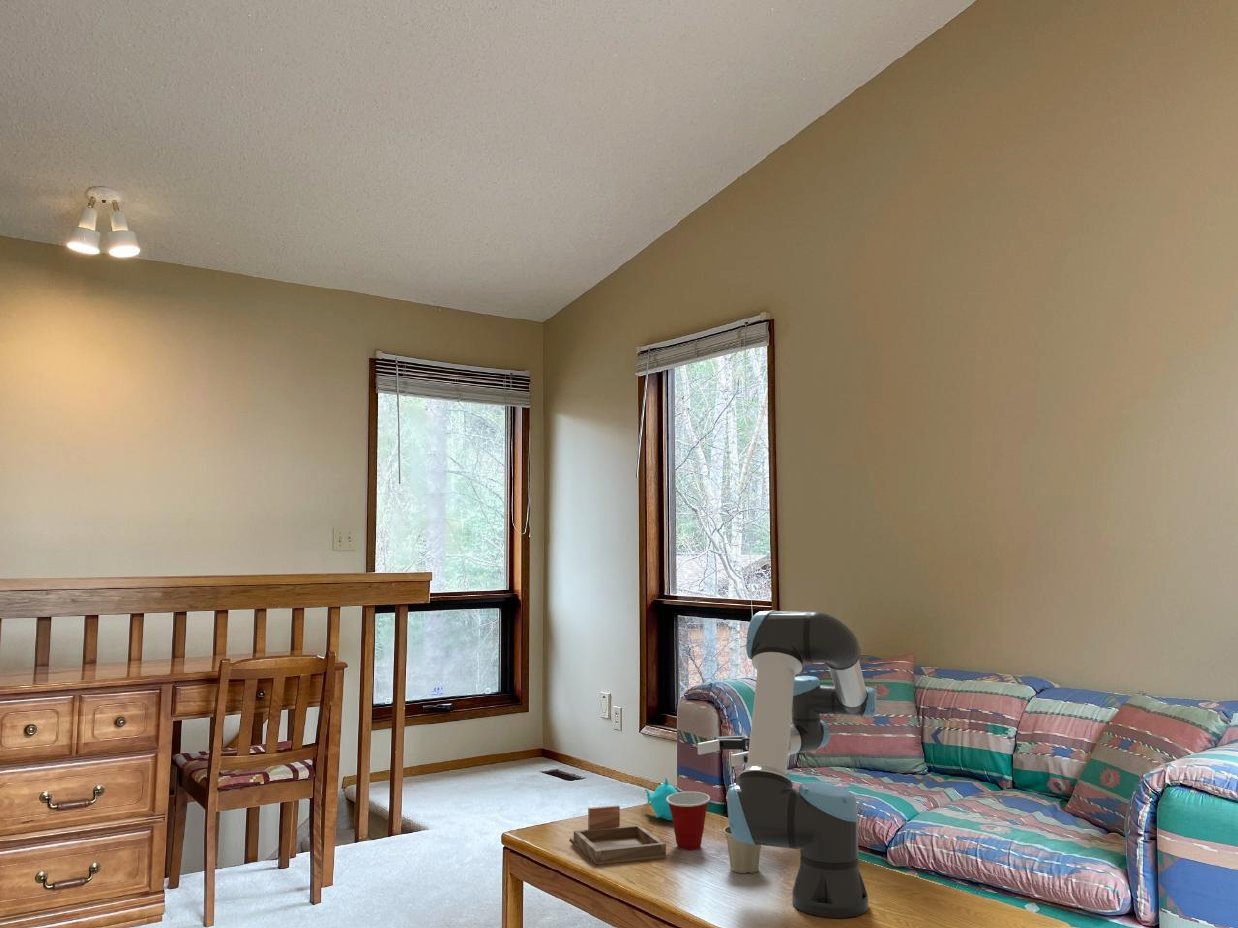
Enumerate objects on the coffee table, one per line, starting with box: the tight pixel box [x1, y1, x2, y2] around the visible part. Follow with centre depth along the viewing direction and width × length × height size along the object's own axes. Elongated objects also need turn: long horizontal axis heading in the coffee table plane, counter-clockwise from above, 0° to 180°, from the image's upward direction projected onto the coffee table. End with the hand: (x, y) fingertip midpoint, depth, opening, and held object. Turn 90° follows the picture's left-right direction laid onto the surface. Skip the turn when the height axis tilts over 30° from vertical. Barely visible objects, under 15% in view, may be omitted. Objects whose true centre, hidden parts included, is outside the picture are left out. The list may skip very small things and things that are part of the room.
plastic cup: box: [666, 791, 711, 851], centre depth 235 cm, size 11×11×12 cm
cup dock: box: [569, 805, 667, 865], centre depth 234 cm, size 21×17×8 cm
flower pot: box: [722, 825, 762, 874], centre depth 218 cm, size 9×9×9 cm
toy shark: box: [644, 777, 678, 822], centre depth 261 cm, size 10×18×11 cm, turn 37°
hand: (714, 754), depth 240 cm, fingers open, 13 cm apart
